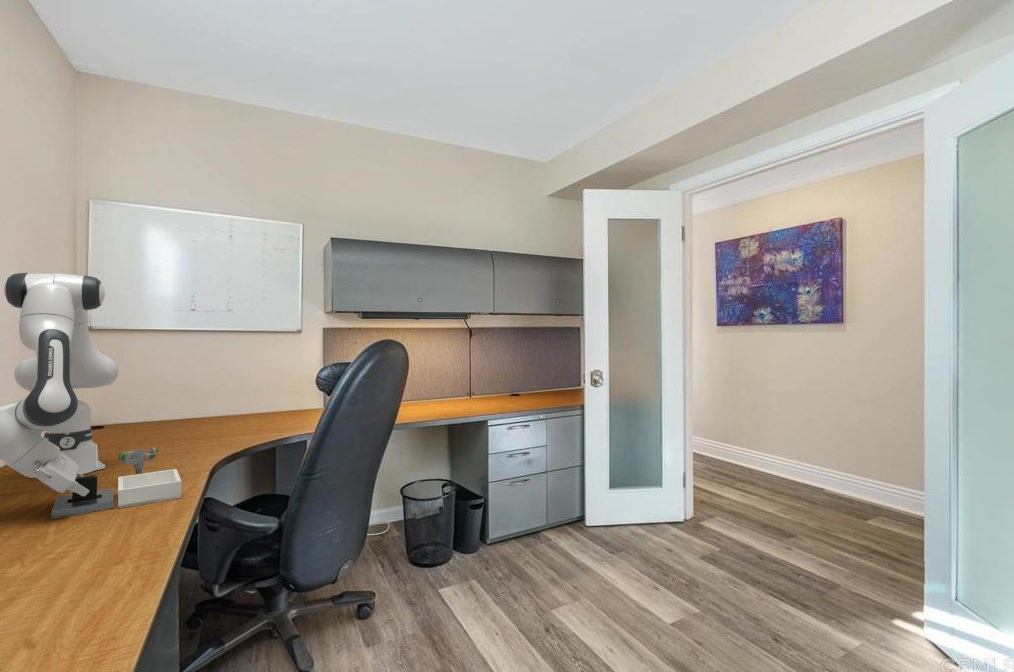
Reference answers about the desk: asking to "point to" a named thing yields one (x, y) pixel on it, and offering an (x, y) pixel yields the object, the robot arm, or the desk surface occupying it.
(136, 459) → the mechanical component
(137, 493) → the tray
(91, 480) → the ink cartridge
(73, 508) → the plate
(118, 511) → the desk surface
